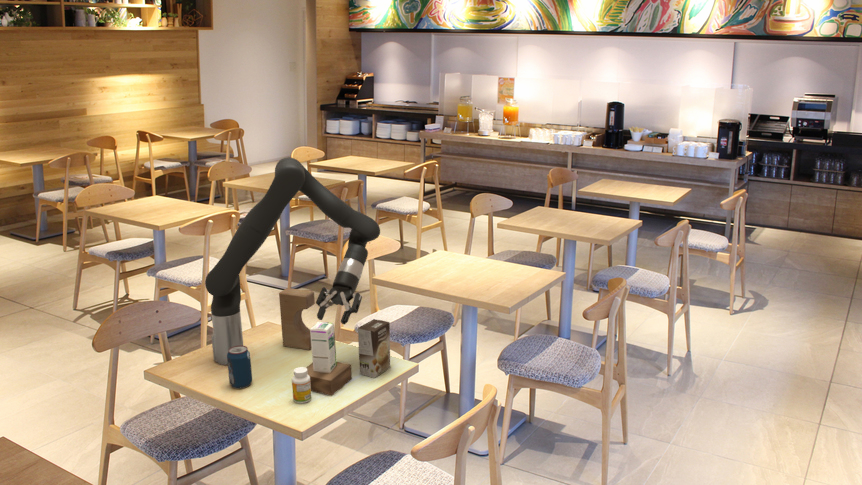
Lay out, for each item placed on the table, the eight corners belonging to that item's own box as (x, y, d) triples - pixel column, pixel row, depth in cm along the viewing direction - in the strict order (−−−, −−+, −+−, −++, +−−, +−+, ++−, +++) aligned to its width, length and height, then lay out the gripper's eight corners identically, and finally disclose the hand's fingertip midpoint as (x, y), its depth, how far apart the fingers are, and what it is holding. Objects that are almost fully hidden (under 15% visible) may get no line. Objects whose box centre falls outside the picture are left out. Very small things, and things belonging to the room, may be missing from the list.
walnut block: (298, 388, 223) (297, 373, 222) (319, 372, 233) (319, 357, 232) (331, 395, 218) (330, 380, 217) (351, 378, 229) (351, 364, 227)
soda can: (256, 380, 229) (253, 345, 225) (246, 390, 222) (243, 354, 219) (236, 378, 230) (232, 343, 227) (225, 388, 223) (222, 353, 220)
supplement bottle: (294, 395, 219) (292, 366, 216) (312, 394, 219) (310, 365, 216) (292, 404, 213) (290, 374, 211) (310, 403, 214) (308, 373, 211)
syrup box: (330, 373, 221) (328, 329, 217) (312, 371, 223) (309, 328, 219) (337, 365, 227) (334, 322, 223) (319, 363, 228) (316, 321, 224)
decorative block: (317, 344, 254) (314, 291, 249) (309, 350, 249) (306, 296, 244) (290, 340, 258) (287, 287, 253) (282, 346, 253) (278, 292, 248)
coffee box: (375, 378, 229) (373, 331, 224) (359, 374, 232) (356, 327, 227) (391, 367, 236) (389, 321, 232) (375, 363, 239) (373, 318, 235)
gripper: (324, 267, 231) (306, 312, 225) (363, 272, 226) (345, 319, 219) (334, 278, 237) (317, 322, 231) (372, 283, 232) (355, 329, 225)
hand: (331, 321), depth 225 cm, fingers open, 8 cm apart
